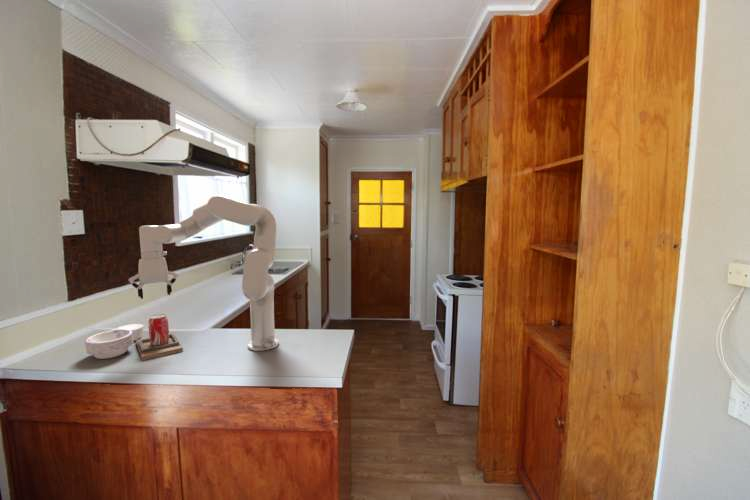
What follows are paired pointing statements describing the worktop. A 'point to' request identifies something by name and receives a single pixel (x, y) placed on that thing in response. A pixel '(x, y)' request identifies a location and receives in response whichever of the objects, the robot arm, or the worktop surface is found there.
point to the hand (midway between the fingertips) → (155, 296)
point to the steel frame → (159, 345)
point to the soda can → (158, 330)
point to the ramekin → (133, 330)
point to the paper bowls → (109, 343)
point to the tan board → (158, 350)
